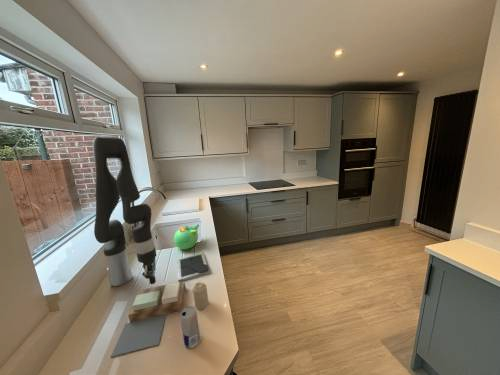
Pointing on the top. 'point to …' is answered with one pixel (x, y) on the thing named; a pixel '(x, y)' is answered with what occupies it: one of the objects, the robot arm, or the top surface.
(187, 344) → the energy drink
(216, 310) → the top surface
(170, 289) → the cream block
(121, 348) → the mat
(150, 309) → the thick wooden panel
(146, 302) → the sage green block
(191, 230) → the toy bird
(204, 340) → the top surface
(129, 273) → the robot arm
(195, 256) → the picture frame
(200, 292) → the candle
